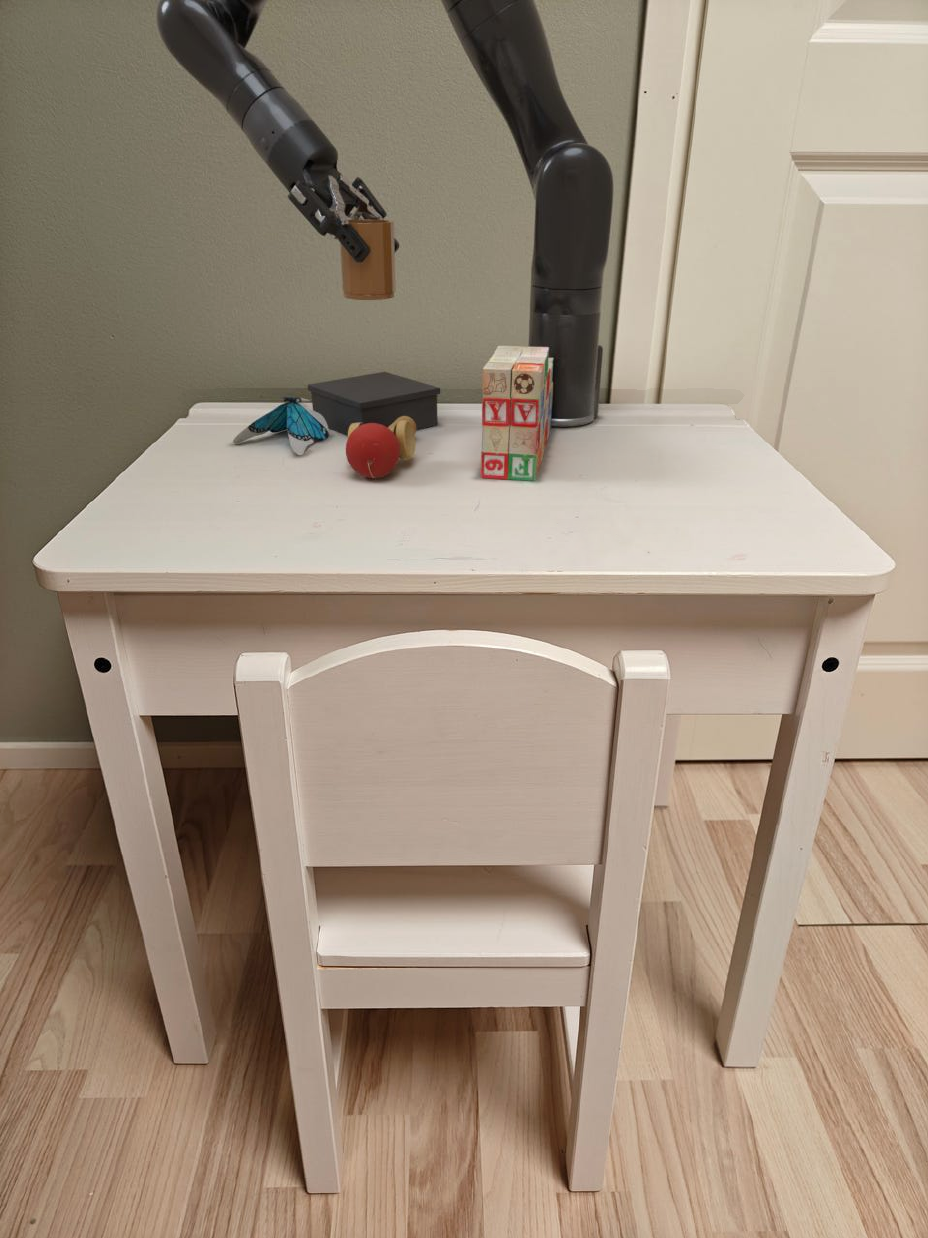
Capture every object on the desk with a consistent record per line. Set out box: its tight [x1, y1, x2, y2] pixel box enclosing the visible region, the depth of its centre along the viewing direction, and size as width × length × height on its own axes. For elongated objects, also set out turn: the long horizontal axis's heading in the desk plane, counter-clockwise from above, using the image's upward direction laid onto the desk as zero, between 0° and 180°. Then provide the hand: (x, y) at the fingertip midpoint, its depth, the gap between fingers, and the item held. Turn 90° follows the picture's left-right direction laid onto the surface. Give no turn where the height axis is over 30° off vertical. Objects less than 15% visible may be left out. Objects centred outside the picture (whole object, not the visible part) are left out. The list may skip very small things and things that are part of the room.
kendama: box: [345, 416, 417, 480], centre depth 101 cm, size 8×6×18 cm
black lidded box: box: [307, 371, 441, 436], centre depth 115 cm, size 13×13×5 cm
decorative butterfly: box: [232, 395, 330, 457], centre depth 108 cm, size 10×6×10 cm
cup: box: [339, 218, 397, 301], centre depth 105 cm, size 6×6×8 cm
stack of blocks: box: [480, 345, 553, 482], centre depth 102 cm, size 21×6×12 cm, turn 170°
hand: (379, 254), depth 104 cm, fingers closed on cup, 6 cm apart
